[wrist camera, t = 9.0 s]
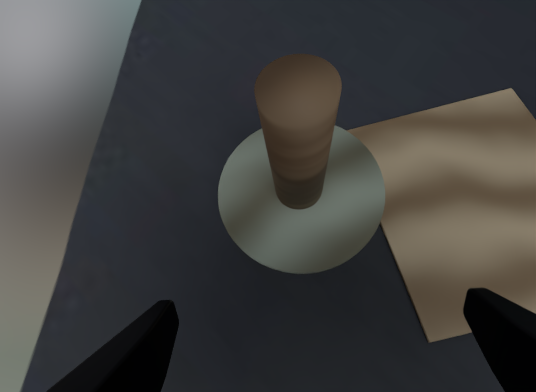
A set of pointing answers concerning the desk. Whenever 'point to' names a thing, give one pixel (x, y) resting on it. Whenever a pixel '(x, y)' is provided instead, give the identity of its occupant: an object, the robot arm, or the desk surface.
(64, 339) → the desk surface
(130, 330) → the robot arm
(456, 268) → the mat
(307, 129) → the lid
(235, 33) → the desk surface
